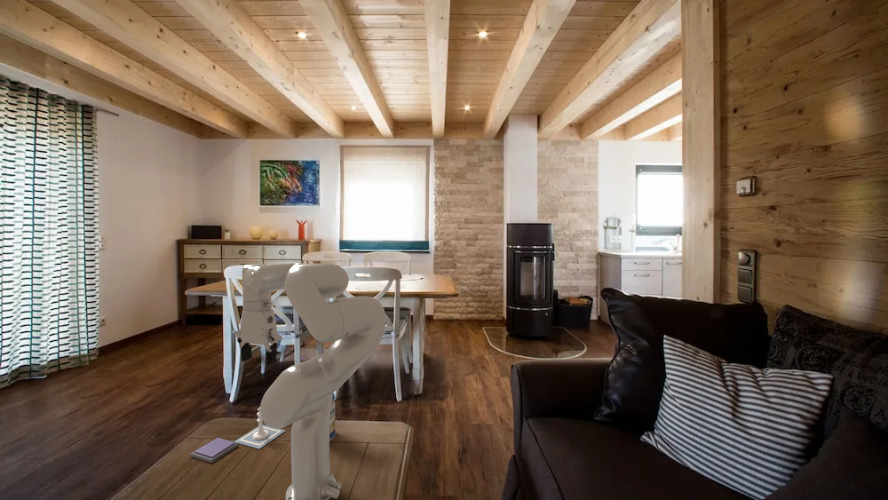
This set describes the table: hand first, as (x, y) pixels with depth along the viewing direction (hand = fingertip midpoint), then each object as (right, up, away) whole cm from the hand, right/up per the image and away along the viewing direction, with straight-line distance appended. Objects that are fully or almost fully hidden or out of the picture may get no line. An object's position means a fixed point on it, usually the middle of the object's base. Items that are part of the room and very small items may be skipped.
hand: (258, 361), depth 106 cm
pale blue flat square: (-6, -30, +13) cm, 33 cm away
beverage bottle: (+15, -30, +13) cm, 36 cm away
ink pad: (-17, -30, +5) cm, 35 cm away
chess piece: (-6, -30, +13) cm, 33 cm away
